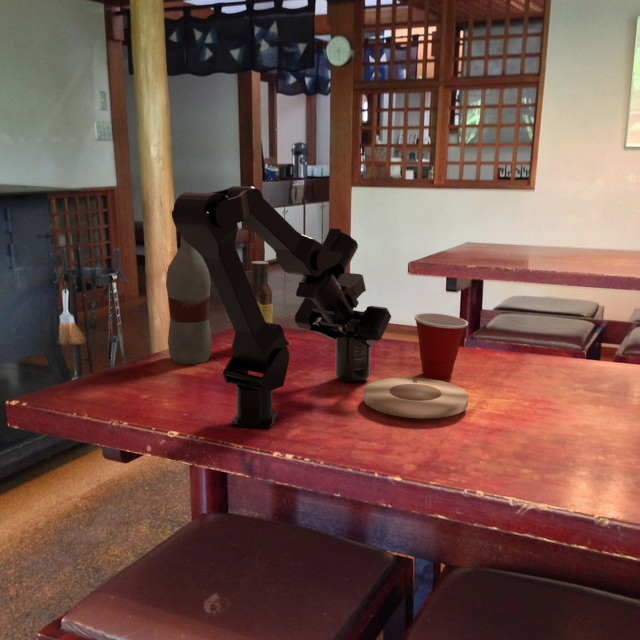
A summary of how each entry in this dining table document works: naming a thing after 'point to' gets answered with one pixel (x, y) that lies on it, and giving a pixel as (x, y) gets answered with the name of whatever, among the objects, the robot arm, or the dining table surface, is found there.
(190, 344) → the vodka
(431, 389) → the disc
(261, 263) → the sauce bottle
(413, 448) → the dining table surface
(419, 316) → the plastic cup
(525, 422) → the dining table surface
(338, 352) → the supplement bottle
